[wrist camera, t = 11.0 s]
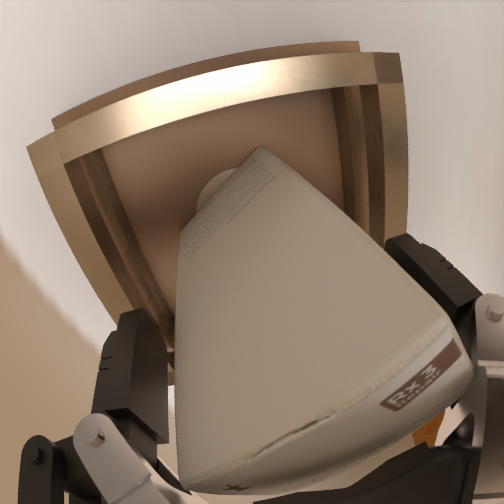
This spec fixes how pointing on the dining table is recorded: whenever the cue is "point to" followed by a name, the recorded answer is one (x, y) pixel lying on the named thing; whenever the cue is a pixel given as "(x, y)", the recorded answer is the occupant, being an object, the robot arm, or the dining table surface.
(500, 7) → the dining table surface
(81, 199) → the shallow wooden tray
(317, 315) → the skincare box
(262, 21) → the dining table surface
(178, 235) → the walnut board
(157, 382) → the robot arm
